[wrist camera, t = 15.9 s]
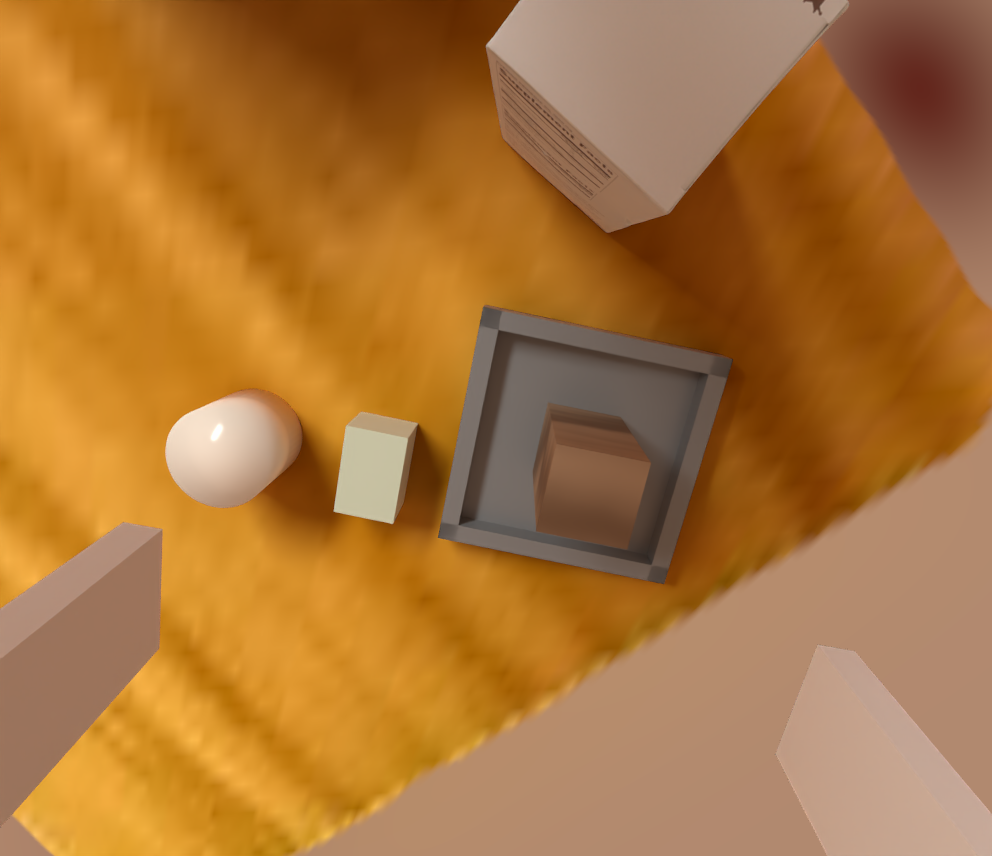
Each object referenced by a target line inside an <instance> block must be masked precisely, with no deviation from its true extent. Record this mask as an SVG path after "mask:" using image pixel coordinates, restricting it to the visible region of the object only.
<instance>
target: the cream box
mask: <svg viewBox="0 0 992 856" xmlns="http://www.w3.org/2000/svg"><path fill="white" fill-rule="evenodd" d="M417 426H418V423H414V422H409V421H405V420H400V419H395V418H390V417H385V416H381V415H376V414H371V413H366V412H360V413H359V414H358V415H357V416H356V417H355V418H354V419H353V420H352V421H350V422H349V423H348V424H347V425H346V430H345V437H344V444H343V451H342V457H341V464H340V471H339V478H338V485H337V491H336V498H335V505H334V512H338V513H342V514H347V515H352V516H357V517H362V518H367V519H372V520H376V521H381V522H386V523H391V524H393V523H394V521H395V519H396V517H397V515H398V513H399V511H400V509H401V507H402V505H403V503H404V499H405V493H406V488H407V482H408V476H409V471H410V465H411V459H412V454H413V448H414V443H415V437H416V431H417Z"/></svg>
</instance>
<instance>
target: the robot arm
mask: <svg viewBox="0 0 992 856" xmlns="http://www.w3.org/2000/svg"><path fill="white" fill-rule="evenodd" d="M161 564H162V529H158V528H153V527H147V526H141V525H136V524H130V523H124V522H123V523H122V524H120V525H119V526H117V527H116V528H114V529H113V530H112V531H110V532H109V533H107V534H106V535H105V536H103V537H102V538H100V539H99V540H97V541H96V542H95V543H93V544H92V545H90V546H89V547H87V548H86V549H85V550H83V551H82V552H80V553H79V554H78V555H76V556H75V557H73V558H72V559H70V560H69V561H68V562H66V563H65V564H63V565H62V566H60V567H59V568H58V569H56V570H55V571H53V572H52V573H51V574H49V575H48V576H46V577H45V578H43V579H42V580H41V581H39V582H38V583H36V584H35V585H33V586H32V587H31V588H29V589H28V590H26V591H25V592H24V593H22V594H21V595H19V596H18V597H16V598H15V599H14V600H12V601H11V602H9V603H8V604H6V605H5V606H4V607H2V608H1V609H0V827H1V826H2V825H3V824H4V823H5V822H6V821H7V820H8V818H9V817H10V816H11V815H12V814H13V813H14V812H15V810H16V809H17V808H18V807H19V806H20V805H21V804H22V803H23V801H24V800H25V799H26V798H27V797H28V796H29V795H30V794H31V792H32V791H33V790H34V789H35V788H36V787H37V786H38V785H39V783H40V782H41V781H42V780H43V779H44V778H45V777H46V775H47V774H48V773H49V772H50V771H51V770H52V769H53V768H54V766H55V765H56V764H57V763H58V762H59V761H60V760H61V759H62V757H63V756H64V755H65V754H66V753H67V752H68V751H69V750H70V748H71V747H72V746H73V745H74V744H75V743H76V742H77V740H78V739H79V738H80V737H81V736H82V735H83V734H84V733H85V731H86V730H87V729H88V728H89V727H90V726H91V725H92V724H93V722H94V721H95V720H96V719H97V718H98V717H99V716H100V715H101V713H102V712H103V711H104V710H105V709H106V708H107V707H108V706H109V704H110V703H111V702H112V701H113V700H114V699H115V698H116V696H117V695H118V694H119V693H120V692H121V691H122V690H123V689H124V687H125V686H126V685H127V684H128V683H129V682H130V681H131V680H132V678H133V677H134V676H135V675H136V674H137V673H138V672H139V671H140V669H141V668H142V667H143V666H144V665H145V664H146V663H147V661H148V660H149V659H150V658H151V657H152V656H153V655H154V654H155V652H156V651H157V650H158V649H159V637H160V600H161ZM775 755H776V757H777V759H778V760H779V762H780V764H781V766H782V768H783V770H784V772H785V774H786V776H787V778H788V780H789V782H790V784H791V786H792V788H793V790H794V792H795V794H796V796H797V798H798V799H799V801H800V803H801V805H802V807H803V809H804V811H805V813H806V815H807V817H808V819H809V821H810V823H811V825H812V827H813V829H814V831H815V832H816V835H817V837H818V839H819V841H820V842H821V844H822V846H823V848H824V850H825V852H826V854H827V856H992V814H991V813H990V812H989V810H988V809H987V808H986V807H985V806H984V805H983V803H982V802H981V801H980V800H979V799H978V797H977V796H976V795H975V794H974V793H973V791H972V790H971V789H970V788H969V787H968V785H967V784H966V783H965V782H964V781H963V779H962V778H961V777H960V776H959V775H958V773H957V772H956V771H955V770H954V769H953V768H952V767H951V765H950V764H949V763H948V762H947V760H946V759H945V758H944V757H943V756H942V755H941V753H940V752H939V751H938V750H937V748H936V747H935V746H934V745H933V744H932V743H931V741H930V740H929V739H928V738H927V737H926V735H925V734H924V733H923V732H922V731H921V729H920V728H919V727H918V726H917V725H916V723H915V722H914V721H913V720H912V719H911V717H910V716H909V715H908V714H907V713H906V712H905V710H904V709H903V708H902V707H901V706H900V704H899V703H898V702H897V701H896V700H895V698H894V697H893V696H892V695H891V694H890V692H889V691H888V690H887V689H886V688H885V686H884V685H883V684H882V683H881V682H880V681H879V679H878V678H877V677H876V676H875V675H874V673H873V672H872V671H871V670H870V669H869V667H868V666H867V665H866V664H865V663H864V661H863V660H862V659H861V658H860V657H859V655H858V654H857V653H856V652H855V651H851V650H846V649H840V648H835V647H829V646H823V645H817V647H816V650H815V652H814V655H813V658H812V660H811V663H810V665H809V668H808V670H807V673H806V676H805V678H804V681H803V683H802V686H801V689H800V691H799V694H798V696H797V699H796V702H795V704H794V707H793V709H792V712H791V714H790V717H789V720H788V722H787V725H786V727H785V730H784V733H783V735H782V738H781V740H780V743H779V746H778V748H777V751H776V754H775Z"/></svg>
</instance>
